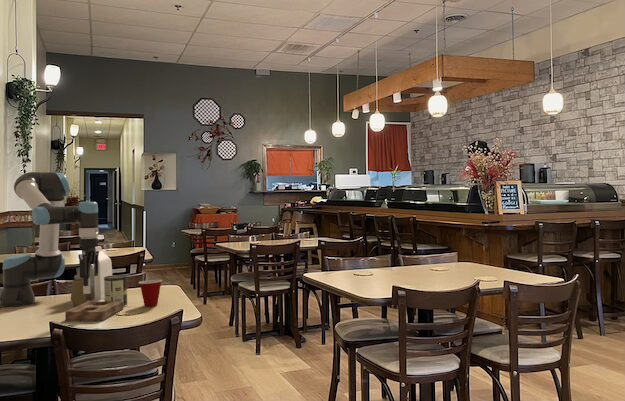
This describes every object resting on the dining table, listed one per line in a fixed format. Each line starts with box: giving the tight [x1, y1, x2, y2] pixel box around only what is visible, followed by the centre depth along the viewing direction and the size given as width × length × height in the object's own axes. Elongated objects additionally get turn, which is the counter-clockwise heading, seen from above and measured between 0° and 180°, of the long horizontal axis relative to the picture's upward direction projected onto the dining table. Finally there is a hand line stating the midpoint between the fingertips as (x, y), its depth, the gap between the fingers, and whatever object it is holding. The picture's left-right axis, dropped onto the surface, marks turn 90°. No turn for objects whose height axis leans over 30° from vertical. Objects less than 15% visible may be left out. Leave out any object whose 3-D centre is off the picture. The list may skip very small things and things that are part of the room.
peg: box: [85, 264, 95, 301], centre depth 218 cm, size 4×4×15 cm
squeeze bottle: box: [70, 267, 89, 307], centre depth 243 cm, size 8×8×18 cm
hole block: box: [64, 300, 124, 322], centre depth 223 cm, size 16×20×4 cm
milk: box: [93, 245, 113, 301], centre depth 262 cm, size 12×12×26 cm
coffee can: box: [104, 274, 128, 308], centre depth 241 cm, size 10×10×14 cm
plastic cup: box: [138, 279, 163, 308], centre depth 242 cm, size 11×11×12 cm
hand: (89, 292), depth 218 cm, fingers closed on peg, 4 cm apart
